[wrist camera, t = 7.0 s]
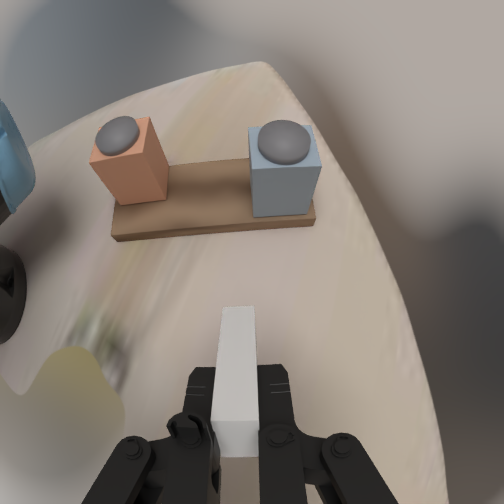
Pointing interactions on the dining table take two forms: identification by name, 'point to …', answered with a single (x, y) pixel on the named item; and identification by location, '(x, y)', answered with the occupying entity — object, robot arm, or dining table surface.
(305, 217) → the button board
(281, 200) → the slate button
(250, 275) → the dining table surface
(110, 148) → the salmon button
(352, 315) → the dining table surface
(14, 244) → the dining table surface
